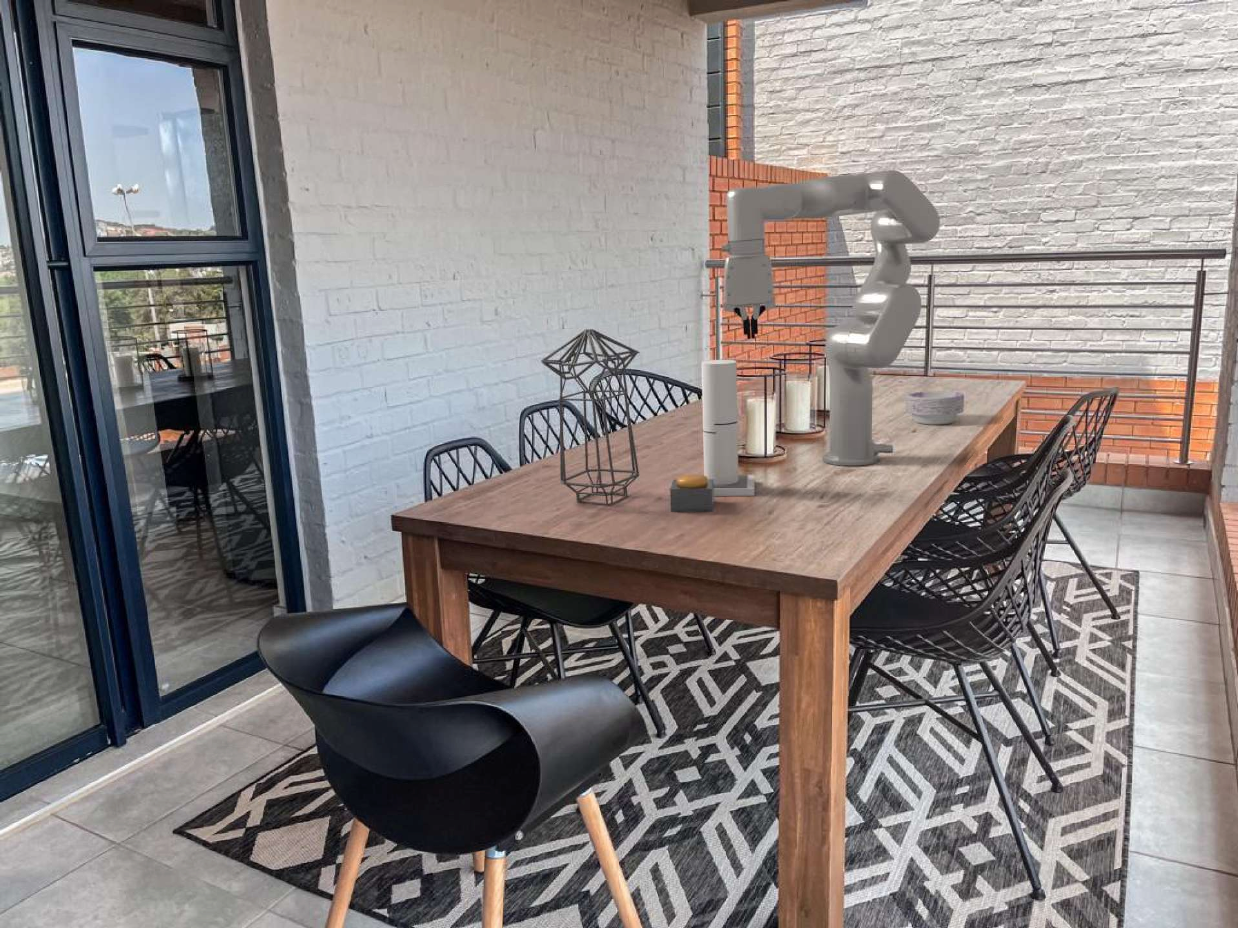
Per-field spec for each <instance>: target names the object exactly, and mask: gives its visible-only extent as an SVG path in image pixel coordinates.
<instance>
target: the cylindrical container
mask: <svg viewBox="0 0 1238 928" xmlns="http://www.w3.org/2000/svg"><path fill="white" fill-rule="evenodd" d="M737 366H738V365H737V360H733V359H710V360H703V361H701V391H702V392H701V393H702V394H701V395H702V397H701V398H702V401H701V402H702V430H703V431H702V440H703V442H702V443H703V444H702V445H703V475H704V476H706V477H707V479H714V485H726V484H733V483H736V482H738V475H739V439H738V438H739V436H738V435H739V432H738V431H739V430H738V429H739V428H738V424H739V423H738V375H737V373H738V372H737V369H738V367H737Z"/></svg>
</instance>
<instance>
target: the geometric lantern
mask: <svg viewBox="0 0 1238 928" xmlns="http://www.w3.org/2000/svg"><path fill="white" fill-rule="evenodd" d="M593 340H594V341H595V343H596V344H597V345H598V348H599V350H600V352H601V353H597V351H596V348H595V344H594V341H593ZM604 340H605V341H604ZM606 341H607V342H610V343H612V344H613V345H616V346H618V347H620V348H623V349H625V350H626V351H622V352H621V351H620V352H617V351H615V350H614V349H613V348H612V347H611V346H610V345H609V344H608V343H606ZM588 342H589V346H590V350H591V352H590V351H587V346H588V345H587V344H588ZM570 344H572V345H571V346H570V347H569V348H568V349H567V350H566V351H565V352H564V354H563V355H561V357H560V358H559V359H551V358H552V357H554V356H555V355H556V354H558V353H559V352H561V351H562V350H563V349H565V348H566V347H568V346H569V345H570ZM605 347H606V349H605ZM582 349H583V350H582ZM607 350H609V351H610V352H611V354H609V353H608V351H607ZM638 354H640V351H638V350H636V349H634V348H632V347H630V346H627V345H625V344H624V343H621V342H619V341H617V340H615V339H614V338H611V337H609V336H608V335H606V334H603V333H601V332H599V331H597V330H595V329H593V328H590V329H588V328H587V329H584V330H583V331H581V332H580V333H578V334H577V335H575V336H574V337H572V338H571V339H570V340H568V341H567V342H566V343H564V344H563V345H561V346H560V347H558V348H557V349H556V350H554V351H553V352H551V353H550V354H548V355H547V356H545V357H544V358H542V359H541V360H540V362H541V364H543V365H544V366H545V367H547V368H548V369H549V370H551V371H552V372H553V373H554V374H556V375H557V376H559V399H558V405H559V406H558V409H559V455H560V456H559V462H560V468H559V469H560V483H561V484H562V485H565V486H566V487H567V488H569V489H570V490H571V491H572V492H574V493H575V494H576V502H577V503H583V504H591V505H602V506H611V505H615V504H616V503H619V502H621V501H623V500H624V499H626V498H628V497H629V495H628V489H627V488H628V487H629V486H630V485H631V484H632V483H633V482H634V481H635V480H636V479H637V478H638V477H639V476H640V472H639V465H638V458H637V452H636V446H635V445H636V444H635V439H634V433H633V426H632V421H631V414H630V408H629V407H630V406H629V400H628V394H629V392H628V385H627V378H626V368H627V367H628V366H629V365H630V364H631V362H632V361H633V360H634V358H635V357H636V356H637V355H638ZM580 355H585V357H587V358H588V359H590V360H588V361H581V362H578V360H579V357H580ZM623 355H625V356H623ZM622 356H623V357H622ZM599 357H600V358H602V360H599ZM627 360H628V361H627ZM626 361H627V362H626ZM609 362H610V363H611V364H613V367H612V366H611V367H610V365H609ZM625 362H626V363H625ZM595 364H597V365H598V366H600V367H601V368H602V370H601V372H600V374H599V376H598V379H597V381H596V382H595V384H594V386H593V388H592V390H590V389H589V388H588V387H587V386H586V384H585V382H584V381H583V380H582V379H581V377H580V376H582V375H583V374H584V373H585V372H586V371H588V370H589V369H591V368H592V367H593V366H594V365H595ZM553 365H558V367H559V368H556V367H555V366H553ZM585 365H587V366H586V367H585V368H583V369H582V370H581V371H579V372H578V373H577V372H576V367H578V366H585ZM621 366H622V368H621ZM565 367H567V371H565ZM620 368H621V369H620ZM619 369H620V370H619ZM606 370H607V371H608V372H609V373H610V374H611V376H610V378H609V380H608V382H607V384H606V386H605V387H604V390H603V389H600V390H599V389H598V390H597V387H598V385H599V383H600V381H601V379H602V377H603V375H604V373H605V372H606ZM613 371H614V372H613ZM620 374H622V379H623V383H622V380H621V378H620V376H619V375H620ZM566 375H569V376H566ZM570 375H571V376H570ZM615 376H617V377H616V378H617V379H618V381H619V384H620V386H621V389H622V390H621V389H620V390H614V389H612V390H610V389H609V390H608V387H609V385H610V383H611V381H612V379H613V378H614V377H615ZM563 380H564V381H563ZM568 380H575V382H577V384H578V385H579V386H580V388H581V389H582V391H581V390H580V391H578V392H575V393H571V394H568V395H563V393H564V389H565V385H566V382H567V381H568ZM595 393H602V394H601V396H600V398H595ZM605 393H618V394H615V395H611V396H608V397H604V395H605ZM580 394H582V398H570V397H573V396H576V395H580ZM587 394H588V396H589V397H590V398H587ZM621 396H623V398H624V402H625V404H624V405H625V411H626V413H625V414H626V421H627V430H628V441H629V448H630V449H629V451H630V459H631V466H632V468H631V469H632V470H630V469H614V467H613V461H612V459H613V457H612V452H611V445H610V436H609V430H608V423H607V422H608V421H607V415H606V407H605V401H606V400H609V399H614V398H616V397H621ZM563 401H570V402H571V401H577V402H578V401H579V402H580V401H581V402H583V424H584V425H583V426H584V427H583V428H584V452H585V453H584V456H585V457H584V458H585V461H584V462H585V470H583V471H580V472H577V473H575V474H573V475H571V476H570V475H569V477H567V475H566V474H567V473H566V459H565V457H566V456H565V439H564V421H563ZM587 402H591V403H592V404H591V405H592V414H593V417H592V418H593V428H594V436H595V437H594V440H595V452H596V462H597V468H590V469H589V457H588V456H589V454H588V453H589V452H588V451H589V450H588V428H587V427H588V425H587V422H588V421H587V420H588V419H587ZM596 402H597V403H598V402H600V403H601V410H602V418H603V426H604V434H605V440H606V446H607V455H608V463H609V468H601V457H600V447H599V445H600V444H599V434H598V433H599V432H598V423H597V411H596ZM592 472H595V473H596V472H597V476H596V482H595V483H594V482H593V480H592V477H591V475H590V473H592ZM602 472H605V473H606V472H608V473H609V472H610V476H611V483H602V482H603V481H602ZM586 473H587V474H586ZM614 473H624V474H625V473H628V474H630V476H628V477H625V478H623V479H621V480H620V479H619V480H617V481H616V480H615V474H614ZM584 474H586V475H587V476H588V479H589V481H590V483H591V484H589V483H579V482H570V481H571V480H572V479H574V478H577V477H579V476H581V475H584ZM568 481H569V482H568ZM573 486H575V487H583V488H581V489H579V490H576V489H575V488H574V487H573ZM609 487H611V490H610V492H608V491H606V490H605V489H606V488H609ZM615 487H620V488H618V489H616V490H615ZM588 488H591V492H584V491H585V490H586V489H588ZM594 488H596V491H594ZM599 489H601V490H602V491H599ZM621 490H622V491H623V493H620V492H619V491H621ZM618 492H619V493H618ZM580 495H584V496H581V497H580ZM614 495H615V496H623V497H621V498H619V499H617V500H615V501H614V499H613V498H614V497H613V496H614ZM590 496H603V497H605V502H595V501H586V500H583V499H585V498H587V497H590ZM608 496H610V503H609V502H608V501H609V500H608Z"/></svg>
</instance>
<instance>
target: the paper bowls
mask: <svg viewBox="0 0 1238 928" xmlns="http://www.w3.org/2000/svg"><path fill="white" fill-rule="evenodd" d="M964 402H965V395H964V393H962V392H958V391H957V392H956V391H947V390H946V391H945V390H929V391H928V390H927V391H916V392H911V393H907V394H906V395H905V410H906V411H905V412H906V413H908V414H911V415H912V417H913V420H914V421H915V423H918V424H920V425H921V424H922V425H935V426H939V425H949V424H952V423H954V421H955V420H956V418H957V416H958V415H959V414H962V413H963V412H964V408H965V403H964Z"/></svg>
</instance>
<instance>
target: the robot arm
mask: <svg viewBox="0 0 1238 928" xmlns="http://www.w3.org/2000/svg"><path fill="white" fill-rule="evenodd" d="M725 198H726V199H725V200H726V201H725V202H726V218H727V219H726V221H727V223H726V224H727V238H728V243H726V244H725V245H721V252H722V253H727V254H728V257H725V261H724V273H723V276H724V277H723V283H724V285H723V288H724V289H723V292H724V293H723V295H724V301H725V302H724V307H723V311H725V312H729V313H735V314H736V315H737V316H738V317H739V318H741V319H742V324H743V326H742V327H743V335H744V336H746V337H747V340H750V339H756V336H755V335H759V327H758V326H759V325H758V324H759V323H758V319H759V318H760V317H761V315H763V313H764V312H765V311H769V310H771V309H775V307H776V303H775V285H774V277H773V276H774V273H773V267H772V266H773V265H772V261H771V257H770V254H766V253H767V252H766V231H765V229H766V228H765V227H766V226H765V223H779V222H786V221H789V220H798V219H800V220H801V219H805V220H806V219H807V220H809V219H811V220H815V219H816V220H817V219H827V218H829V219H830V218H836V217H842V216H843V217H844V216H850V215H851V216H852V215H860V214H867V213H873V212H874V214H873V216H872V218H871V221H870V227H869V228H870V229H869V230H870V235H871V239H872V242H873V246H874V251H875V255H874V256H875V257H874V261H873V265H872V267H871V269H870V271H869V272H868V275H867V276H866V278H865V280H864V282H863V284H862V285H861V287H860V289H859V291H858V293H857V294H856V296H855V298H854V301H853V304H852V314H853V316H854V318H855V319H856V320H857V321H859V322H860V323H858V322H845V323H844V322H843V323H841V324H838V325H836V326H834V327H833V328H832V329H830V331H829V333H828V334H827V336H826V339H825V340H826V341H825V355H826V360H827V364H828V371H829V451H828V452H825V453H824V454H823V455H822V461H823V462H824V463H827V464H829V465H835V466H846V467H847V466H848V467H850V466H851V467H855V466H856V467H857V466H866V465H867V466H868V465H873V464H875V463H877V462H878V461H879V454H893V453H894V448H893V447H894V446H893V444H886V443H880V444H879V443H876V442H874V440H873V433H872V432H873V431H872V430H873V395H874V394H873V389H874V387H873V386H874V385H873V384H874V383H873V380H872V376H871V372H870V369H885V368H887V367H889V366H891V365H892V364H893V363H894V362H895V361H896V360H897V358H898V357H899V355H900V353H901V352H902V350H903V348H904V346H905V345H906V343H907V340H908V339H909V337H910V336H911V333H912V332H913V330H914V327H915V326H916V324H917V322H918V320H919V317H920V314H921V311H922V298H921V294H920V293H919V291H918V289H917V288H916V287H915V286H913V285H911V284H909V283H907V281H908V280H909V278H910V275H911V270H912V264H911V260H910V255H909V252H908V249H907V246H906V245H911V244H912V245H913V244H914V245H915V244H924V243H928V242H930V241H931V240H933V239H934V238H935V237H936V235H937V234H938V233H939V229H940V226H941V224H940V223H941V219H940V216H939V215H940V214H939V212H938V210H937V209H936V207H935V205H933V203H932V202H931V201H930V200H929V198H928V197H927V196H926V195H925V194H924V193H923V192H922V191H921V190H920V189H919V187H918V186H917V185H916V184H915V183H914V182H913V180H911V179H910V178H909V177H908V176H907V175H905V174H904V173H902V172H901V171H898V170H895V169H888V170H887V169H886V170H883V171H882V170H881V171H880V170H879V171H873V172H864V173H863V172H861V173H854V174H845V175H834V176H824V177H817V178H811V179H808V180H803V181H798V182H797V181H796V182H791V183H777V184H768V185H767V184H766V185H761V186H760V185H759V186H746V187H738V188H737V187H736V188H732V189H730V190H728V191H727V194H726V197H725ZM747 306H753V307H752V308H753V309H752V315H751V318H749V315H748V313H747ZM869 368H870V369H869Z"/></svg>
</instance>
